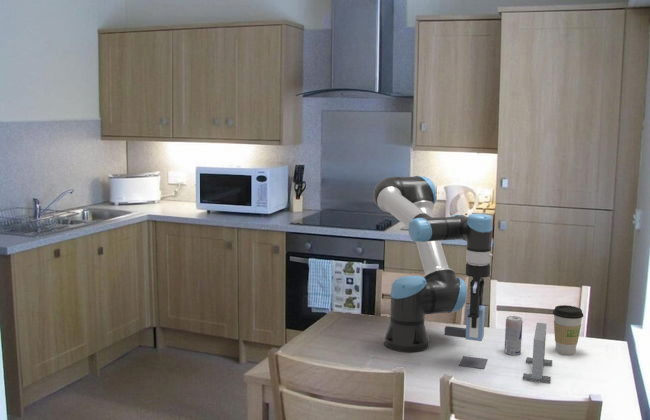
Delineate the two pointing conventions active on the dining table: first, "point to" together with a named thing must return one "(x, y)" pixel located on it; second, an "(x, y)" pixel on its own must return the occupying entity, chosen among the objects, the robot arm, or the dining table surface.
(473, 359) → the mat
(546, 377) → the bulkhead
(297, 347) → the dining table surface
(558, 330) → the coffee cup
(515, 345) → the energy drink
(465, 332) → the plug
